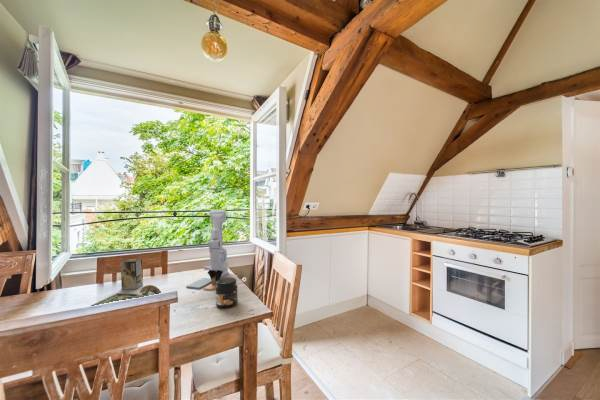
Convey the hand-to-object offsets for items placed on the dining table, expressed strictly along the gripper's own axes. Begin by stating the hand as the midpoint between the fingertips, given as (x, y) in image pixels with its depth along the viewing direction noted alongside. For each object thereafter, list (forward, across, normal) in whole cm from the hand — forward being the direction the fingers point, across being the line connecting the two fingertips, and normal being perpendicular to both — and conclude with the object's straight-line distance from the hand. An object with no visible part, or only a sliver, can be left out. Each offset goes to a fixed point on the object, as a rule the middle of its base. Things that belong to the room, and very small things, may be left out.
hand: (215, 282), depth 149 cm
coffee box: (+2, -47, -15) cm, 49 cm away
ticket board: (+2, -10, 0) cm, 10 cm away
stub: (+2, 0, 0) cm, 2 cm away
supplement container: (+2, +21, -20) cm, 29 cm away
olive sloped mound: (+3, -28, -32) cm, 43 cm away
